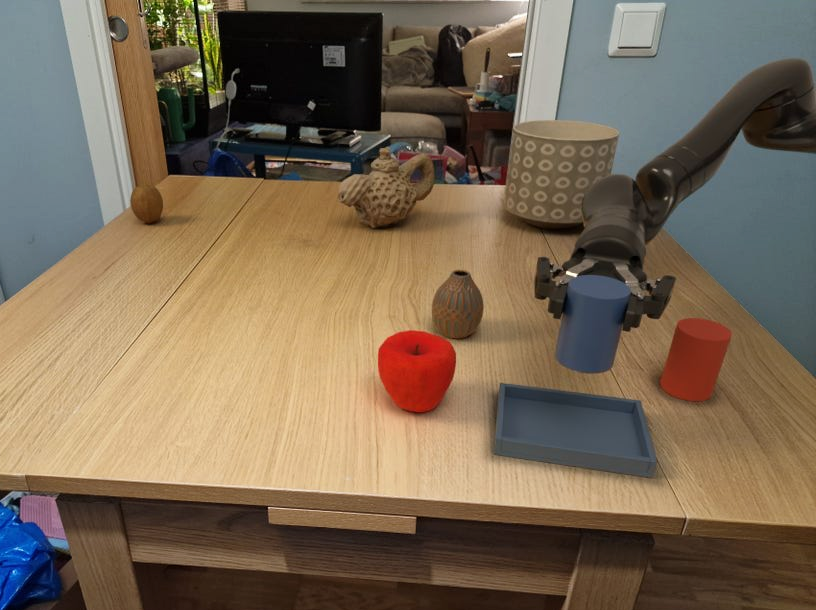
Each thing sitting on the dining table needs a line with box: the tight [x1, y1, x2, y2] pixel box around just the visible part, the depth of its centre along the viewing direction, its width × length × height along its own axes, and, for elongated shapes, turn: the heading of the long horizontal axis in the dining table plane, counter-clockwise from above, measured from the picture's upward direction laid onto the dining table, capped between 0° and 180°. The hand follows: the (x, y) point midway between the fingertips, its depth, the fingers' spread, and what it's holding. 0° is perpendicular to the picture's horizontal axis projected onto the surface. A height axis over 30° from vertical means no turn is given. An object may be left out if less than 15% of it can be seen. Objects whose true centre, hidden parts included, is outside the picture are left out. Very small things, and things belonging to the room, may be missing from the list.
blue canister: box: [554, 275, 631, 375], centre depth 65 cm, size 6×6×8 cm
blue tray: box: [493, 382, 658, 479], centre depth 70 cm, size 15×11×2 cm
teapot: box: [337, 146, 436, 229], centre depth 129 cm, size 21×12×15 cm, turn 118°
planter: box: [503, 119, 620, 230], centre depth 129 cm, size 19×19×18 cm
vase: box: [431, 269, 485, 339], centre depth 89 cm, size 7×7×9 cm
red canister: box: [659, 317, 733, 402], centre depth 77 cm, size 6×6×8 cm
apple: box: [377, 329, 457, 413], centre depth 74 cm, size 9×9×8 cm
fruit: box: [129, 182, 164, 225], centre depth 131 cm, size 6×6×8 cm
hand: (592, 315), depth 62 cm, fingers closed on blue canister, 5 cm apart
